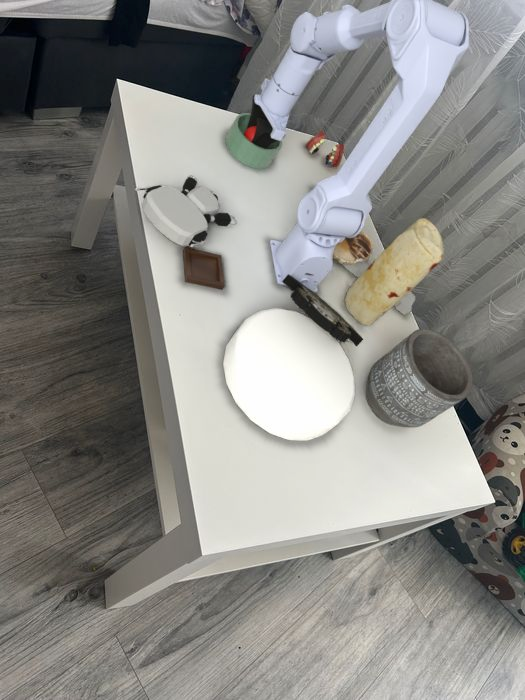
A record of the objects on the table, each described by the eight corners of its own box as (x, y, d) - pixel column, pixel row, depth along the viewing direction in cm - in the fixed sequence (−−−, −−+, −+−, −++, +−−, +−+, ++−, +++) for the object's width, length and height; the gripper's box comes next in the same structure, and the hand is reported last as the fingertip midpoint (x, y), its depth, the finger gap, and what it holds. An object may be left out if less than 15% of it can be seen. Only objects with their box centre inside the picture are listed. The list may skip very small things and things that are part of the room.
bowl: (273, 174, 115) (285, 157, 111) (228, 159, 110) (238, 141, 107) (267, 140, 120) (278, 123, 116) (223, 125, 115) (233, 106, 112)
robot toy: (183, 184, 102) (123, 207, 91) (194, 164, 99) (134, 185, 88) (233, 235, 101) (178, 264, 90) (246, 216, 98) (191, 244, 87)
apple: (261, 159, 114) (275, 138, 110) (240, 152, 112) (253, 130, 108) (258, 143, 117) (271, 122, 113) (237, 136, 115) (250, 114, 111)
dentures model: (307, 143, 120) (340, 164, 121) (317, 126, 121) (349, 148, 122) (299, 153, 125) (331, 174, 127) (309, 137, 126) (340, 158, 127)
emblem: (363, 334, 100) (364, 351, 86) (356, 341, 101) (357, 359, 86) (291, 272, 100) (280, 278, 86) (285, 279, 100) (273, 286, 86)
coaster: (222, 290, 92) (225, 286, 91) (184, 282, 89) (187, 278, 88) (218, 259, 95) (221, 255, 94) (182, 250, 92) (184, 246, 92)
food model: (377, 333, 104) (457, 263, 90) (345, 325, 102) (423, 251, 87) (367, 289, 110) (441, 217, 95) (337, 281, 107) (409, 204, 92)
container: (206, 322, 87) (219, 304, 83) (313, 321, 98) (329, 305, 95) (247, 450, 79) (264, 435, 75) (359, 432, 90) (378, 419, 87)
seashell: (357, 207, 100) (383, 254, 105) (341, 203, 106) (366, 248, 110) (322, 235, 100) (349, 281, 105) (307, 229, 105) (334, 273, 110)
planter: (429, 425, 98) (486, 390, 89) (381, 445, 91) (438, 409, 81) (392, 362, 102) (443, 322, 93) (343, 377, 94) (393, 334, 85)
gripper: (262, 51, 106) (229, 112, 116) (273, 103, 98) (237, 163, 108) (296, 65, 109) (261, 123, 119) (309, 116, 101) (271, 174, 111)
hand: (252, 143), depth 114 cm, fingers closed on apple, 4 cm apart
